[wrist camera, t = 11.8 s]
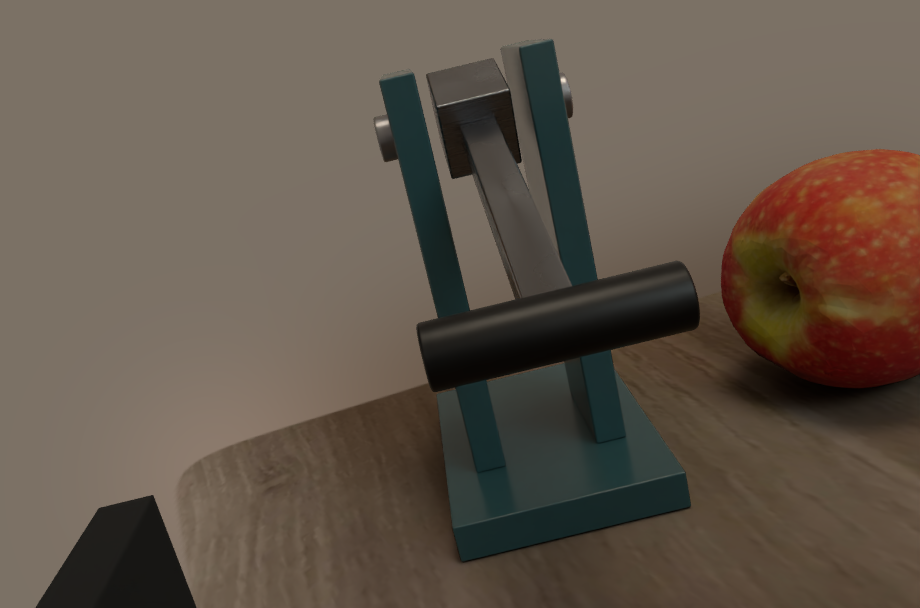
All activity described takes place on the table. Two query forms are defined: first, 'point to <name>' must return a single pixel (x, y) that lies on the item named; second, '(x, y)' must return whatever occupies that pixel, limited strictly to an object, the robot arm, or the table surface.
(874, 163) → the apple
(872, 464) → the table surface
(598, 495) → the switch bracket
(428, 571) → the table surface
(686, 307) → the switch lever
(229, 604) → the table surface
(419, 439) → the table surface
